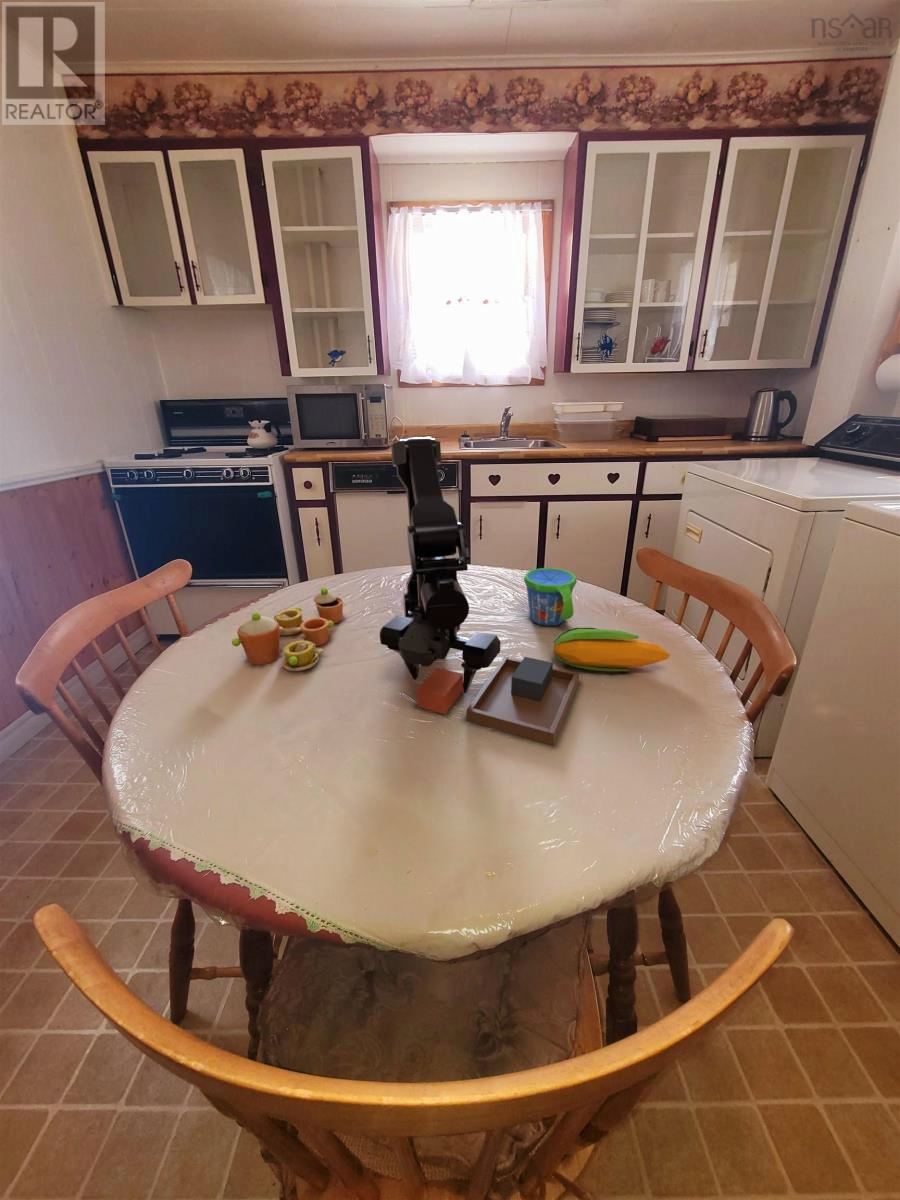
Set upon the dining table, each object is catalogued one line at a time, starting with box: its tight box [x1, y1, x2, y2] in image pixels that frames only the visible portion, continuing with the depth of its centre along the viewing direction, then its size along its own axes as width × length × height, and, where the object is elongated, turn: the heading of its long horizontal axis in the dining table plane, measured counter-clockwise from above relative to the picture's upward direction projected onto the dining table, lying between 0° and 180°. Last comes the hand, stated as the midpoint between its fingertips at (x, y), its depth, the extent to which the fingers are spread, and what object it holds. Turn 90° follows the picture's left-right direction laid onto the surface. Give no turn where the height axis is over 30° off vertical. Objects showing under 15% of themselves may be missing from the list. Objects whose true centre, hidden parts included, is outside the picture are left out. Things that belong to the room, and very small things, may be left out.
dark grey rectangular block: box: [511, 656, 554, 701], centre depth 81 cm, size 5×7×3 cm
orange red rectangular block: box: [416, 666, 464, 715], centre depth 80 cm, size 5×7×3 cm
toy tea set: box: [231, 587, 344, 672], centre depth 97 cm, size 26×16×10 cm, turn 173°
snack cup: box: [523, 567, 578, 627], centre depth 103 cm, size 16×10×10 cm
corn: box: [552, 627, 671, 672], centre depth 86 cm, size 7×8×20 cm
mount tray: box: [466, 656, 580, 746], centre depth 79 cm, size 14×17×2 cm
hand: (440, 685), depth 79 cm, fingers open, 9 cm apart
